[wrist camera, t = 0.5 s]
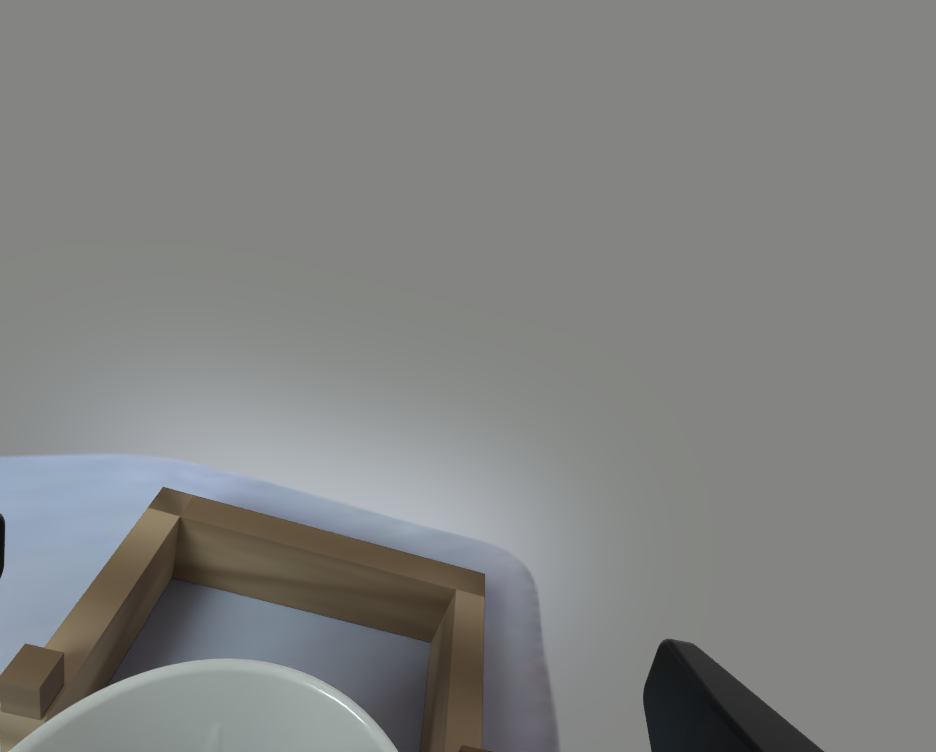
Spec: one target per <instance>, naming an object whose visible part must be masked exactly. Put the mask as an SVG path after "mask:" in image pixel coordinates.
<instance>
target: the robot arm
mask: <svg viewBox="0 0 936 752" xmlns="http://www.w3.org/2000/svg"><path fill="white" fill-rule="evenodd" d="M4 548H5V520H4V517H3V516H2V514H0V578H1V575H2V572H3V568H4ZM643 703H644V710H645V716H646V722H647V727H648V733H649V739H650V744H651V751H652V752H824V751H823V750H822V749H820V748H819V747H818V746H817V745H816V744H814V743H813V742H812V741H811V740H809V739H808V738H807V737H806V736H805V735H803V734H802V733H801V732H799V731H798V730H797V729H796V728H795V727H794V726H793V725H791V724H790V723H789V722H788V721H787V720H785V719H784V718H783V717H782V716H780V715H779V714H778V713H777V712H776V711H774V710H773V709H772V708H771V707H769V706H768V705H767V704H766V703H765V702H764V701H762V700H761V699H760V698H759V697H758V696H756V695H755V694H754V693H753V692H751V691H750V690H749V689H748V688H746V687H745V686H744V685H743V684H742V683H741V682H739V681H738V680H737V679H736V678H735V677H733V676H732V675H731V674H730V673H728V672H727V671H726V670H725V669H724V668H722V667H721V666H720V665H719V664H718V663H716V662H715V661H714V660H713V659H711V658H710V657H709V656H708V655H707V654H705V653H704V652H703V651H702V650H701V649H700V648H698V647H697V646H696V645H694V644H692V643H689V642H684V641H678V640H673V639H665V640H663V641H662V642H661V643H660V645H659V647H658V650H657V652H656V655H655V658H654V661H653V664H652V667H651V669H650V672H649V675H648V678H647V680H646V683H645V687H644V694H643Z"/></svg>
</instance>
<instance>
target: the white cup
mask: <svg viewBox="0 0 936 752" xmlns="http://www.w3.org/2000/svg"><path fill="white" fill-rule="evenodd" d="M8 752H398V750H397V749H396V747H395V746H394V744H393V743H392V742H391V740H390V739H389V737H388V736H387V735H386V734H385V732H384V731H383V730H382V729H381V728H380V726H379V725H378V724H377V723H376V722H375V721H374V720H373V719H372V718H371V717H370V716H369V715H368V714H367V713H366V712H365V711H364V710H363V709H362V708H361V707H360V706H359V705H357V704H356V703H355V702H354V701H353V700H351V699H350V698H349V697H347V696H346V695H345V694H343V693H342V692H340V691H339V690H337V689H336V688H334V687H332V686H331V685H329V684H327V683H325V682H324V681H322V680H320V679H318V678H316V677H314V676H311V675H309V674H307V673H304V672H302V671H299V670H296V669H293V668H290V667H287V666H283V665H279V664H275V663H270V662H265V661H259V660H251V659H237V658H217V659H203V660H194V661H188V662H182V663H177V664H172V665H168V666H164V667H160V668H156V669H153V670H149V671H146V672H143V673H140V674H137V675H134V676H132V677H129V678H126V679H124V680H121V681H119V682H117V683H114V684H112V685H110V686H108V687H105V688H103V689H101V690H99V691H97V692H95V693H93V694H91V695H89V696H87V697H86V698H84V699H82V700H80V701H78V702H77V703H75V704H73V705H72V706H70V707H68V708H67V709H65V710H63V711H62V712H60V713H59V714H57V715H56V716H54V717H53V718H51V719H50V720H48V721H47V722H45V723H44V724H43V725H41V726H40V727H38V728H37V729H36V730H34V731H33V732H32V733H30V734H29V735H28V736H27V737H25V738H24V739H23V740H22V741H20V742H19V743H18V744H17V745H15V746H14V747H13V748H12V749H11V750H9V751H8Z"/></svg>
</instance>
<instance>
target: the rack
mask: <svg viewBox="0 0 936 752" xmlns="http://www.w3.org/2000/svg"><path fill="white" fill-rule="evenodd" d="M172 577H173V578H176V579H180V580H184V581H188V582H192V583H196V584H200V585H204V586H208V587H212V588H216V589H220V590H224V591H228V592H232V593H236V594H240V595H244V596H248V597H252V598H256V599H260V600H264V601H268V602H272V603H276V604H280V605H284V606H288V607H292V608H295V609H299V610H303V611H307V612H311V613H315V614H319V615H323V616H327V617H331V618H335V619H339V620H343V621H347V622H351V623H355V624H359V625H363V626H367V627H371V628H375V629H379V630H383V631H387V632H391V633H395V634H399V635H403V636H407V637H410V638H414V639H418V640H422V641H426V642H430V643H431V648H430V657H429V667H428V676H427V685H426V695H425V704H424V714H423V723H422V733H421V742H420V751H419V752H491V751H487V750H483V749H482V705H483V652H484V599H485V574H483V573H480V572H476V571H472V570H469V569H465V568H461V567H457V566H454V565H450V564H446V563H443V562H439V561H435V560H432V559H428V558H424V557H420V556H417V555H413V554H409V553H406V552H402V551H398V550H395V549H391V548H387V547H383V546H380V545H376V544H372V543H369V542H365V541H361V540H358V539H354V538H350V537H346V536H343V535H339V534H335V533H332V532H328V531H324V530H320V529H317V528H313V527H309V526H306V525H302V524H298V523H295V522H291V521H287V520H283V519H280V518H276V517H272V516H269V515H265V514H261V513H258V512H254V511H250V510H246V509H243V508H239V507H235V506H232V505H228V504H224V503H221V502H217V501H213V500H209V499H206V498H202V497H198V496H195V495H191V494H187V493H184V492H180V491H176V490H172V489H169V488H165V487H163V488H162V489H161V491H160V492H159V493H158V495H157V496H156V497H155V499H154V500H153V501H152V503H151V504H150V505H149V507H148V508H147V509H146V511H145V512H144V513H143V515H142V516H141V518H140V519H139V520H138V522H137V523H136V524H135V526H134V527H133V528H132V530H131V531H130V532H129V534H128V535H127V536H126V538H125V539H124V540H123V542H122V543H121V545H120V546H119V547H118V549H117V550H116V551H115V553H114V554H113V555H112V557H111V558H110V559H109V561H108V562H107V563H106V565H105V566H104V567H103V569H102V570H101V572H100V573H99V574H98V576H97V577H96V578H95V580H94V581H93V582H92V584H91V585H90V586H89V588H88V589H87V590H86V592H85V593H84V594H83V596H82V597H81V599H80V600H79V601H78V603H77V604H76V605H75V607H74V608H73V609H72V611H71V612H70V613H69V615H68V616H67V617H66V619H65V620H64V621H63V623H62V624H61V625H60V627H59V628H58V630H57V631H56V632H55V634H54V635H53V636H52V638H51V639H50V640H49V642H48V643H47V644H46V646H45V647H44V648H42V647H38V646H34V645H29V644H25V645H24V646H23V647H22V648H21V650H20V651H19V652H18V654H17V655H16V656H15V657H14V659H13V660H12V661H11V663H10V664H9V665H8V666H7V668H6V669H5V670H4V672H3V673H2V674H1V675H0V705H1V706H0V744H1V752H8V751H9V750H11V749H12V748H13V747H14V746H15V745H17V744H18V743H19V742H20V741H22V740H23V739H24V738H25V737H27V736H28V735H29V734H30V733H32V732H33V731H34V730H36V729H37V728H38V727H40V726H41V725H43V724H44V723H45V722H47V721H48V720H50V719H51V718H53V717H54V716H56V715H57V714H59V713H60V712H62V711H63V710H65V709H67V708H68V707H70V706H72V705H73V704H75V703H77V702H78V701H80V700H82V699H84V698H86V697H87V696H89V695H91V694H93V693H95V692H97V691H99V690H101V689H103V688H105V687H107V685H108V684H109V682H110V680H111V679H112V677H113V675H114V674H115V672H116V670H117V669H118V667H119V665H120V664H121V662H122V660H123V659H124V657H125V655H126V654H127V652H128V650H129V649H130V647H131V645H132V644H133V642H134V640H135V639H136V637H137V635H138V634H139V632H140V630H141V629H142V627H143V625H144V624H145V622H146V620H147V619H148V617H149V615H150V614H151V612H152V610H153V609H154V607H155V605H156V604H157V602H158V600H159V599H160V597H161V595H162V594H163V592H164V590H165V589H166V587H167V585H168V584H169V582H170V580H171V579H172Z"/></svg>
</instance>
